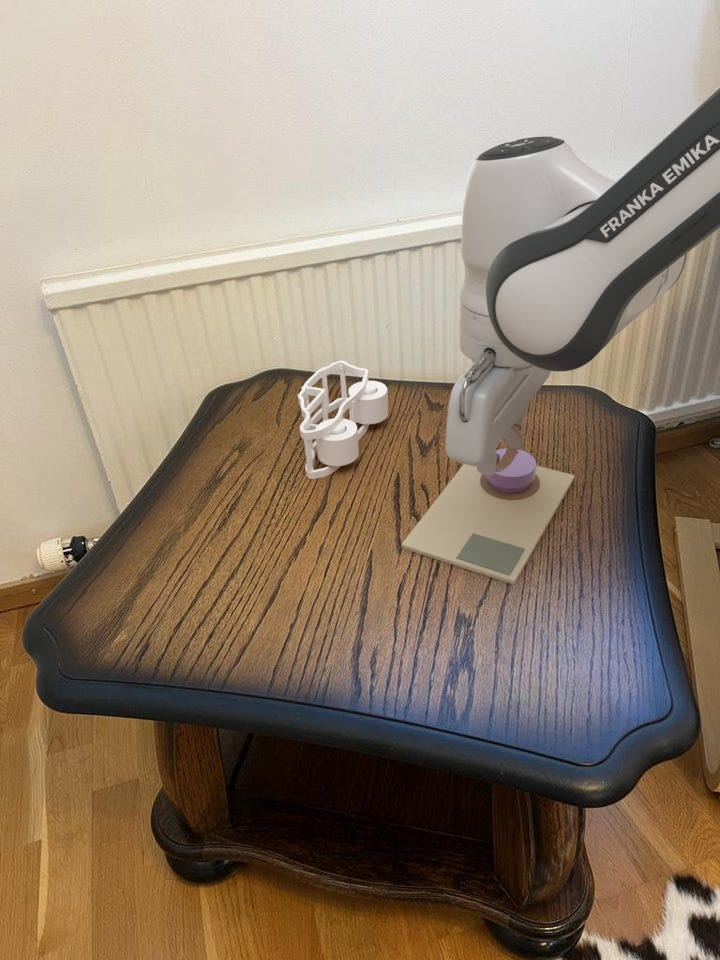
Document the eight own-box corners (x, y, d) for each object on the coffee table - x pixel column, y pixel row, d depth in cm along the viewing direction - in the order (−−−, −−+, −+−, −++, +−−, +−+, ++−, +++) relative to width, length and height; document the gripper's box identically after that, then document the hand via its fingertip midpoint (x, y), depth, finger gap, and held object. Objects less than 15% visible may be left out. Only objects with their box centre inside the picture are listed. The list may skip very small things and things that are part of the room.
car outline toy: (345, 486, 100) (341, 439, 96) (271, 470, 104) (264, 425, 100) (398, 411, 115) (397, 368, 110) (332, 400, 119) (328, 358, 114)
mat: (574, 478, 99) (575, 474, 98) (514, 585, 83) (514, 580, 83) (474, 453, 105) (474, 448, 104) (401, 548, 90) (401, 543, 89)
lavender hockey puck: (541, 474, 98) (543, 455, 97) (524, 501, 94) (526, 482, 92) (495, 462, 101) (496, 443, 99) (476, 488, 97) (477, 469, 95)
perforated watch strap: (523, 462, 79) (526, 421, 76) (493, 482, 76) (495, 441, 73) (502, 453, 80) (505, 412, 77) (473, 472, 78) (474, 431, 75)
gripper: (498, 386, 61) (490, 520, 69) (574, 293, 75) (561, 414, 83) (427, 371, 64) (427, 502, 72) (513, 284, 78) (506, 402, 86)
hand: (500, 454), depth 77 cm, fingers closed on perforated watch strap, 5 cm apart
